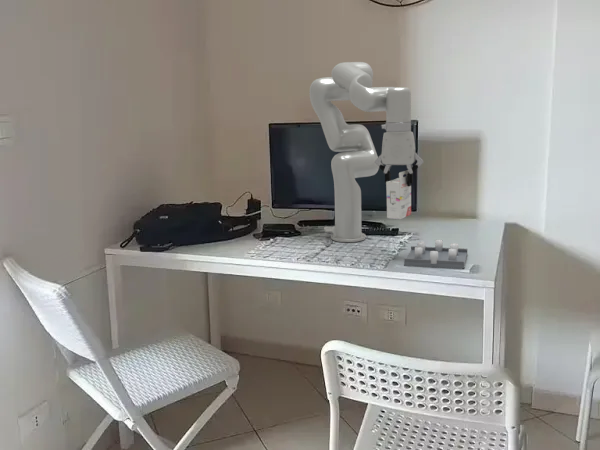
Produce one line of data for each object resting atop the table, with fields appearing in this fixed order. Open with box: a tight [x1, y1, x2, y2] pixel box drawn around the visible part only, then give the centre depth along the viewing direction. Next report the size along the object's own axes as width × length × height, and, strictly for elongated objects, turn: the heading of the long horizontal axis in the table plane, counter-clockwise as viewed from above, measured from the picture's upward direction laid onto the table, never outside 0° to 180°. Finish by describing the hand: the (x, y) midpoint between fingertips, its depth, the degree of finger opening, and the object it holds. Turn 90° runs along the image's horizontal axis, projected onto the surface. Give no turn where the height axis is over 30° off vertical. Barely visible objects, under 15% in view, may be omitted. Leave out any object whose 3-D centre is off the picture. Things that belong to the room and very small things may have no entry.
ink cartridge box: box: [385, 169, 412, 220], centre depth 209 cm, size 9×5×15 cm, turn 147°
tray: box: [403, 239, 468, 269], centre depth 209 cm, size 18×17×5 cm
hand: (398, 185), depth 208 cm, fingers closed on ink cartridge box, 5 cm apart
